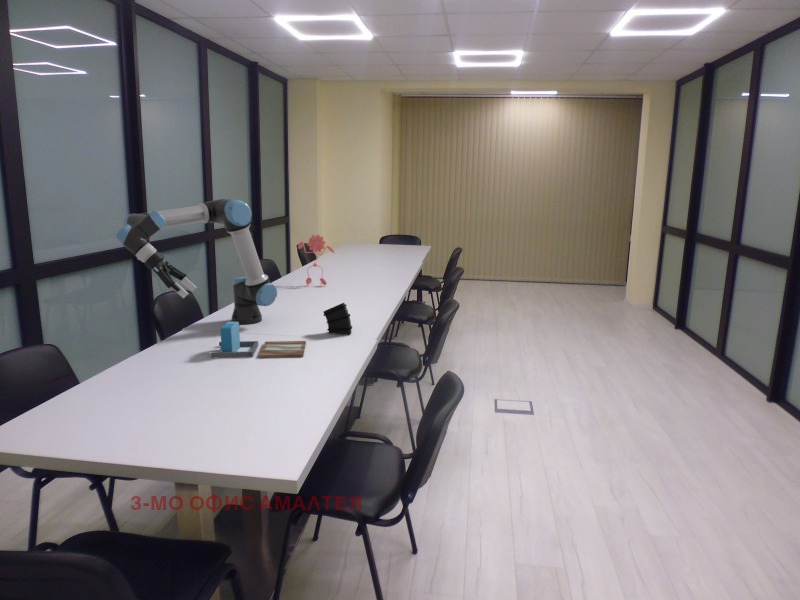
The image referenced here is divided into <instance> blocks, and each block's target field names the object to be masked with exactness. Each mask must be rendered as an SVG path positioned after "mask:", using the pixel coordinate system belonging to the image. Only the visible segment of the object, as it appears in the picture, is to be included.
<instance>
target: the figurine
mask: <svg viewBox="0 0 800 600" xmlns="http://www.w3.org/2000/svg"><path fill="white" fill-rule="evenodd" d="M308 241H309V242H307V243H306V244H307V246H308V248H309V250H310V251H308V252H307V251H306V248H305V242H304V241H301V242H299V243H298V244H297V248H298V250H300V249H304V250H303V251H304V253H305V254H309V253H310V254H312V253H313V254H314V255H316V258H315V262H313V265H312V266H310V267H307V272H309V269H311V268H312V267H319V268H320V269H321V271H322V272H321V273H322V274H321V277H320V278H319V280H320V286H322V284H323V286H325V285H326V286H327V281H326V280H325V279H324V278H323V274H324V269H323V268H322V267H321V266H319V264H318V263H317V259H318V258H319V257H318V255H320V256H322V255H323V254H324V252H325V251H326V249H328V250H329V251H330V252H331V253H333V254H334V253H335V251H334V249H333V248H332V246H330V245H328V244H327V245H326V241H325V240H324V237H323V236H320V234H317V235H316V236H315V234H312V235H311V237H309V238H308ZM325 245H326V247H325ZM322 250H323V251H322ZM309 275H310V273H307V276H308V277H307V278H306V280H305V284H306V285H307V287H310V286H309V285H310V283H311V284H312V281H313V280H312V278H311V277H310V276H309Z"/></svg>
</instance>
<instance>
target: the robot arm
mask: <svg viewBox="0 0 800 600" xmlns="http://www.w3.org/2000/svg"><path fill="white" fill-rule="evenodd" d="M251 218H252V209H251V208H250V206H249V205H248V204H247V203H246V202H245V201H243V200H239V199H225V198H220V199H215V200H210V201H205V202H200V203H199V204H198V205H194V206H193V205H192V206H187V207H179V208H170V209H164V210H151V211H148V212H142V213H141V212H140V213H130V214H127V215H126V216H125V217H124V221H123V224H124V226H122V227H121V228H120V229H118V231H117V232H116V234H115V238H116V240H117V241H118V242H119V243H120V244H122V246H124V247H125V248H126V249H127V250H128V251H130V253H132V254H133V255H134V256H135V257H136V259H137V260H138V261H140V262H142V263H144V265H145V266H146V267H147V268H148V269H149V270H152V271H153V272H154V273H155V274H156V275H157V276H158V278H159V279H160V280H161V281H162V283H163V284H164V286H166V287H167V289H172V290H173V291H174V292H175V293H177V294H178V295H179V296H180V297H181V298H182V299H185V298H186V297H187V296H188V295H189V293H188V292H187V291H186V290H185V289H184V288H183V287H182V286H181V285H180V284H178V282H175V280H174V279H177V280H179V281H180V283H182V285H184V286H185V287H186V288H187V289H188V290H189V291H190V292H191V293H193V292H194V291H195V290H196V289H197V288H198V286H196V285H195V284H194V283H193V282H192V281H191V280H189V279H188V278H187V274H186V273H184V272H183V271H181V270H180V269H178V268H176V267H175V266H174V265H172V264H171V263H170V262H168V261H167V260H166V261H165V262H164V259H165V256H164V255H163V254H162V253H161V252H160V251H157V250H158V249H157V248H155V247H154V246H153V245H152V244H151V243H150V242H148V240H149V239H150V238H151V237H153V236H154V235H155V234H156V233H157V232H159V231H160V230H162V229H163V228H164V229H165V228H169V227H176V226H183V225H189V224H196V223H202V224H222V225H223V226H224V228H225V231H226V233H228V234H230V235H231V238H232V241H233V244H234V247H235V250H236V253H237V255H238V258H239V261H240V264H241V266H242V269H243V273H244V275H245V276H240V277H235V278H234V279H233V282H232V287H233V300H234V301H233V304H234V308H233V312H232V315H231V322H239V325H253V324H256V323H260V322H262V321H263V315H262V312H261V310H260V308H259V306H260V307H268V306H271V305H272V304H274V302H275V301H276V299H277V297H278V289H277V287H276V285H274V284H273V283H271V280H270V278H269V275H267V274H265V273H264V271H263V267H262V263H261V262H260V258H259V255H258V253H257V248H256V246H255V243H254V239H253V238H252V235H251V232H250V226H251V220H252V219H251ZM172 277H173V278H174V279H173V278H172Z"/></svg>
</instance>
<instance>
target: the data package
mask: <svg viewBox="0 0 800 600" xmlns="http://www.w3.org/2000/svg"><path fill="white" fill-rule="evenodd" d="M240 336H241V335H240V324H239V322H232V321H227V322H226V323H224V325H222V326H221V327H220V342H221V347H220V348H221V352H238V350H239V349H240V341H241V337H240Z"/></svg>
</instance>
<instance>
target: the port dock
mask: <svg viewBox="0 0 800 600" xmlns="http://www.w3.org/2000/svg"><path fill="white" fill-rule="evenodd" d="M305 345H307V340H281V341H280V340H275V341H274V340H273V341H272V340H271V341H270V340H269V341H264V343H263V345H262V348H261V350H260V351H259V354H258V358H259V359H273V358H276V359H278V358H282V359H283V358H304V354H305V351H304V350H306V346H305Z"/></svg>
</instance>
